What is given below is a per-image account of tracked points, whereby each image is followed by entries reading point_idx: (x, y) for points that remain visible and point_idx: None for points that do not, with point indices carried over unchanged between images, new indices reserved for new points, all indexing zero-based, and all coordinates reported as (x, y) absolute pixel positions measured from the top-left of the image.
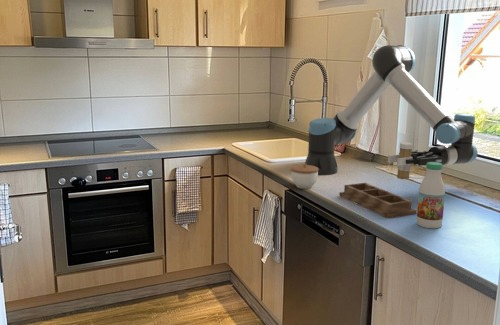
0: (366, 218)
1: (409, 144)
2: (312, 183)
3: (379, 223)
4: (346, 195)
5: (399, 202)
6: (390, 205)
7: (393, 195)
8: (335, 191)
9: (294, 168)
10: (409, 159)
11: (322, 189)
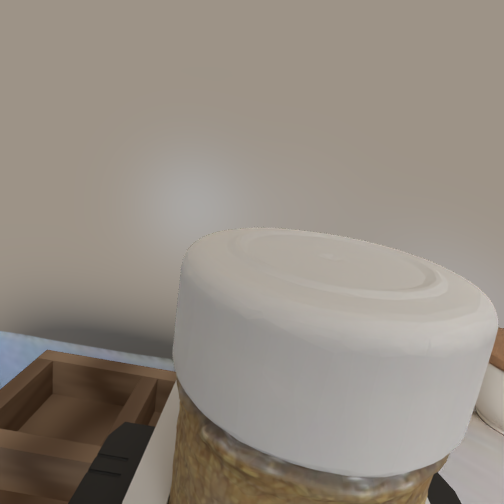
0: (107, 350)
1: (202, 237)
2: (477, 400)
3: (49, 345)
4: None
5: (15, 385)
6: (44, 355)
7: (96, 446)
8: None
9: None
10: (132, 474)
11: (469, 445)
